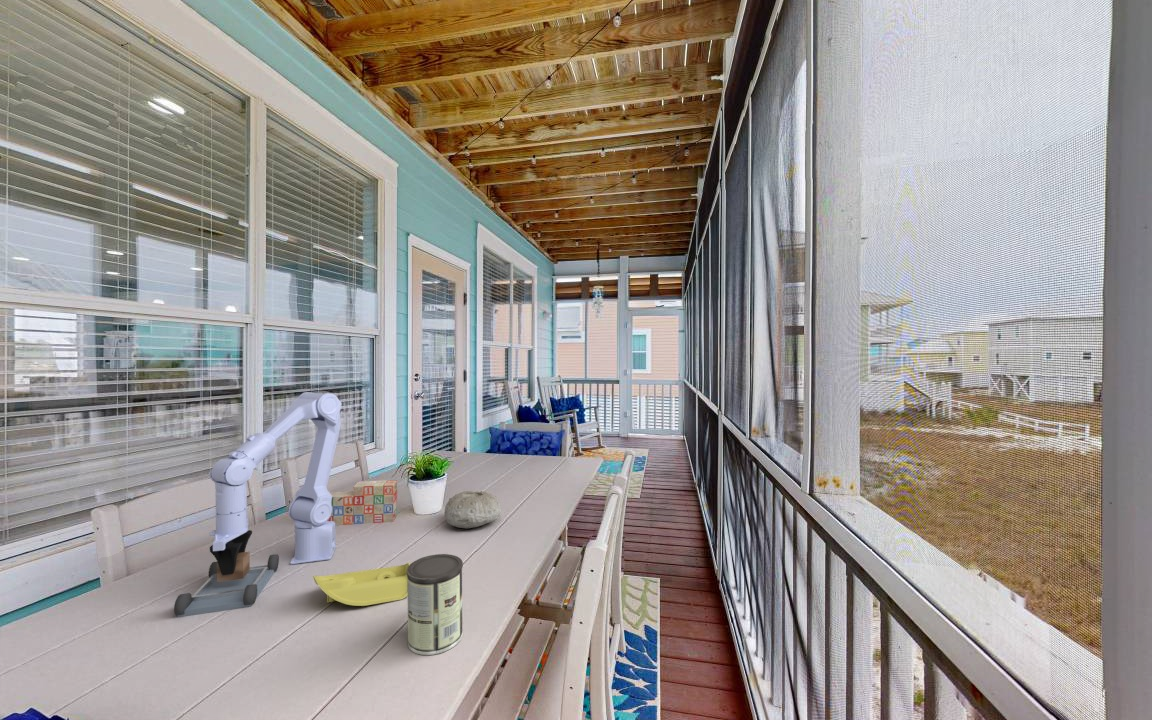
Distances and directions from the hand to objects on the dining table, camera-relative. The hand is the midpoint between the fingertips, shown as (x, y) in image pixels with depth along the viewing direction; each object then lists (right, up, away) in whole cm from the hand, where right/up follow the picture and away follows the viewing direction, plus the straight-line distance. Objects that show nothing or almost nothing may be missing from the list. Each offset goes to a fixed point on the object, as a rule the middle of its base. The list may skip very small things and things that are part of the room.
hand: (232, 569), depth 104 cm
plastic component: (+31, -6, -1) cm, 32 cm away
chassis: (0, -5, 0) cm, 5 cm away
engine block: (0, -2, 0) cm, 2 cm away
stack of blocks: (+9, -5, +44) cm, 45 cm away
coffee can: (+52, -6, -17) cm, 55 cm away
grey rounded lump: (+46, -5, +41) cm, 62 cm away
